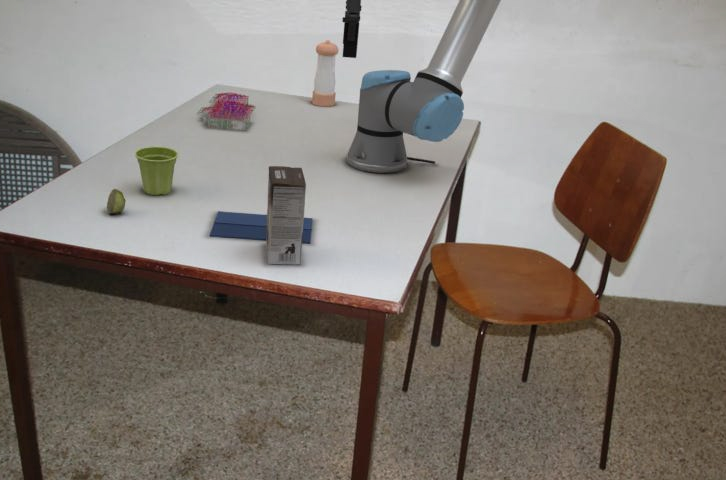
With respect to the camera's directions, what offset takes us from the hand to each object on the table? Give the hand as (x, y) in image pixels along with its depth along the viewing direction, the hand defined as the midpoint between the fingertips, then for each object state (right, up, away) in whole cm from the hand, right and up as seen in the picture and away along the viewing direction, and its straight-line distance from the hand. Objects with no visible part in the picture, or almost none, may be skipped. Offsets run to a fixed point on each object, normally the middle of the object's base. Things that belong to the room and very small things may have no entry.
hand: (349, 50), depth 163 cm
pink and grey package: (-32, +5, +70) cm, 77 cm away
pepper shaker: (-3, +13, +89) cm, 90 cm away
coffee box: (-13, -43, -10) cm, 46 cm away
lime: (-49, -33, +3) cm, 59 cm away
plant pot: (-42, -27, +15) cm, 52 cm away
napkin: (-18, -36, 0) cm, 40 cm away
